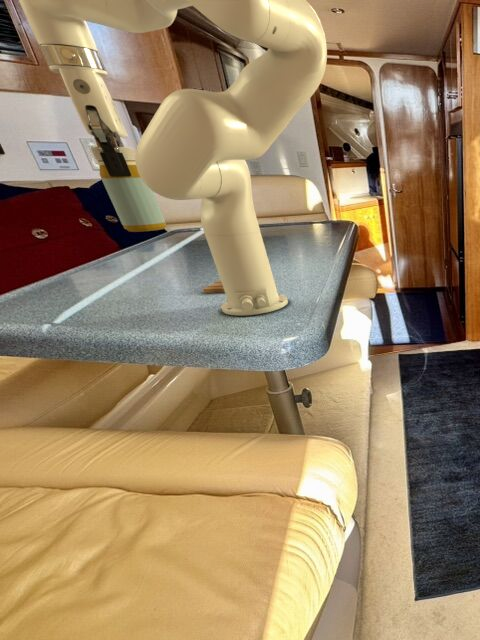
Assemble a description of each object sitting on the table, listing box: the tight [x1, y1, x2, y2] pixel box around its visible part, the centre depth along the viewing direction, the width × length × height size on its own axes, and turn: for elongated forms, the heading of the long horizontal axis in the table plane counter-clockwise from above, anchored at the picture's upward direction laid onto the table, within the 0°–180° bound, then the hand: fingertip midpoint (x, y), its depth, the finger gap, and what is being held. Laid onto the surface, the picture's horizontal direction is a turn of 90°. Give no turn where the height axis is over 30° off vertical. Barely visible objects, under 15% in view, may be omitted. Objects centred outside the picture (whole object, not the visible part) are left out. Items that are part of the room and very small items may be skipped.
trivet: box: [203, 280, 225, 294], centre depth 99 cm, size 8×8×1 cm
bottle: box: [90, 146, 167, 233], centre depth 80 cm, size 7×7×15 cm
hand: (123, 175), depth 79 cm, fingers closed on bottle, 7 cm apart
